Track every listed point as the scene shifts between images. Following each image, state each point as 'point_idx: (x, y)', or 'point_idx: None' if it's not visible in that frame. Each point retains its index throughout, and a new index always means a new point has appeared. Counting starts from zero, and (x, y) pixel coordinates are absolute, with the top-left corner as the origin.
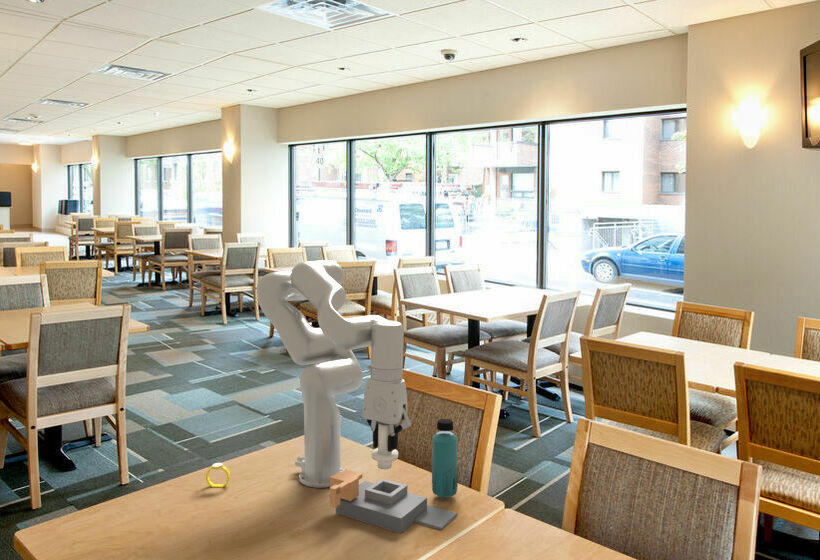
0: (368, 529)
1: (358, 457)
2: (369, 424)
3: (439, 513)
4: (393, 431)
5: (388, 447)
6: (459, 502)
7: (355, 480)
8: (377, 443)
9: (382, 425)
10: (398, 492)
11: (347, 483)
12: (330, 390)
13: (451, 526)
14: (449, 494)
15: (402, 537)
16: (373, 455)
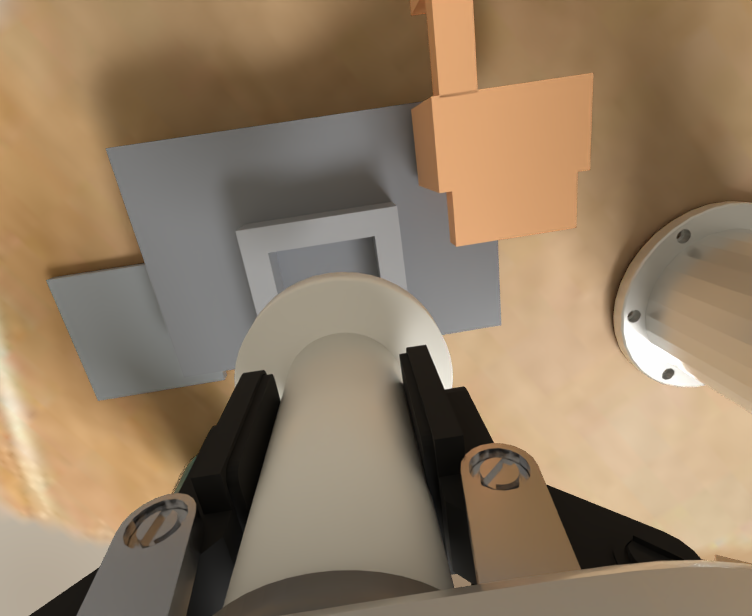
0: (264, 83)
1: (677, 491)
2: (604, 515)
3: (141, 359)
4: (110, 560)
5: (249, 387)
6: (173, 469)
7: (435, 157)
8: (406, 391)
9: (301, 575)
10: (252, 296)
11: (438, 74)
12: None
13: (52, 324)
14: (186, 468)
15: (109, 127)
16: (376, 284)
